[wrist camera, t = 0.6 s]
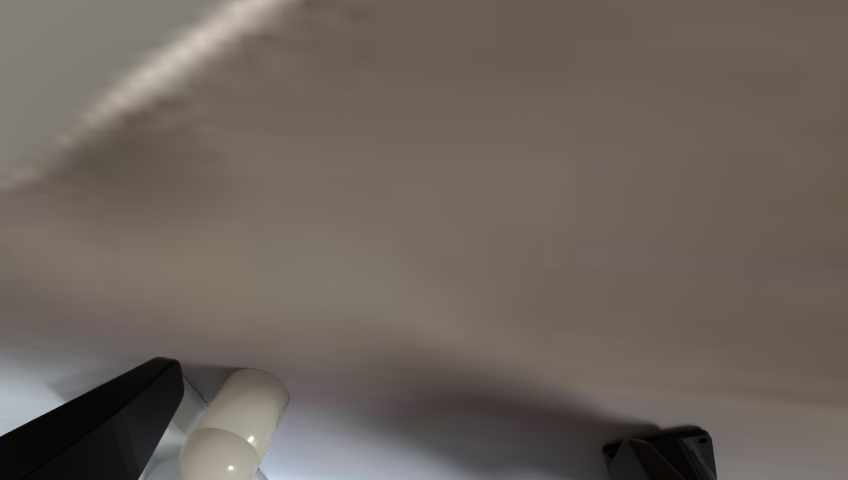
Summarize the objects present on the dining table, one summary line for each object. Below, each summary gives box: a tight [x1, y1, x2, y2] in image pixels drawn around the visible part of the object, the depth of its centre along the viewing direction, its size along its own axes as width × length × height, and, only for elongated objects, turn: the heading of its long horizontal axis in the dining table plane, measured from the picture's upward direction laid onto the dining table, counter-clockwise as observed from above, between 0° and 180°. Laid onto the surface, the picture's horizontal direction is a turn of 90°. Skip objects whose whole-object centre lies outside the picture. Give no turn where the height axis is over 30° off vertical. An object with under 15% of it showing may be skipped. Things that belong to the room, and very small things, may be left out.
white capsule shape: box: [179, 368, 289, 480], centre depth 25 cm, size 4×4×7 cm
